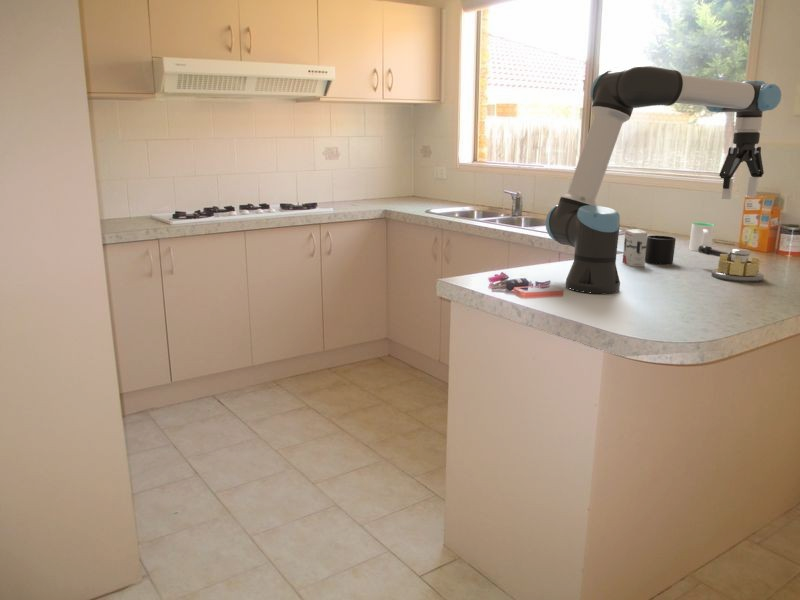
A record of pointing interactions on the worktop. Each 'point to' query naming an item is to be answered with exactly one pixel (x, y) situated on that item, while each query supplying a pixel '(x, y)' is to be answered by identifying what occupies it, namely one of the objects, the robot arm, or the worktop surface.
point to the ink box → (635, 247)
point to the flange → (736, 278)
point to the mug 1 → (660, 250)
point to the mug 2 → (701, 235)
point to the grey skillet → (732, 263)
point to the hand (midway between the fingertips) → (738, 198)
